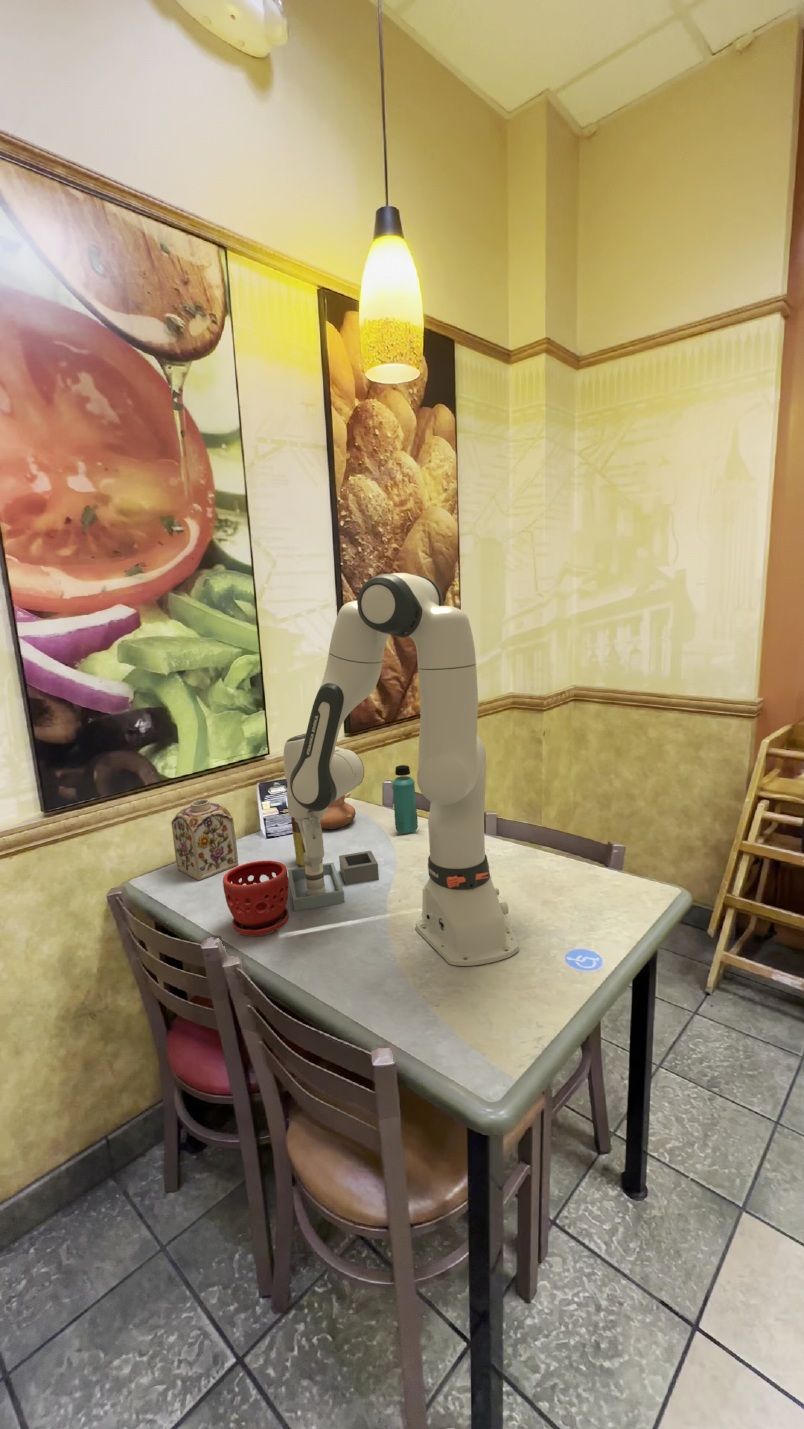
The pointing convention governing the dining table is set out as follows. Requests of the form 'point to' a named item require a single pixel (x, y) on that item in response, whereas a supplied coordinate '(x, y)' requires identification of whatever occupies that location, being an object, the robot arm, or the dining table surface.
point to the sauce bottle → (298, 843)
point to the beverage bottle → (404, 801)
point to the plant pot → (257, 897)
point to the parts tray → (316, 899)
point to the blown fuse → (314, 878)
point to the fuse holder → (358, 867)
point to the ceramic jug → (338, 814)
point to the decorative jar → (204, 839)
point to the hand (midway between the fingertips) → (313, 862)
